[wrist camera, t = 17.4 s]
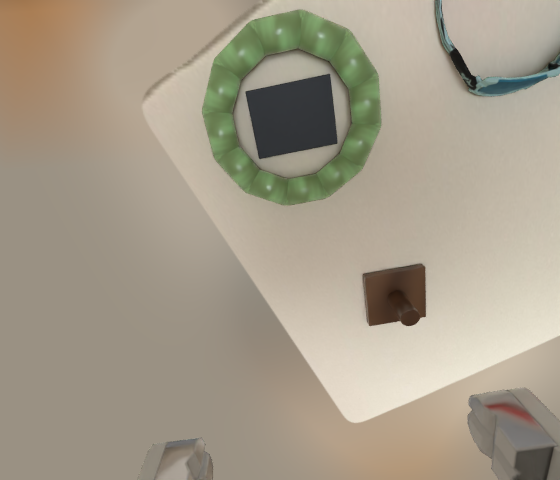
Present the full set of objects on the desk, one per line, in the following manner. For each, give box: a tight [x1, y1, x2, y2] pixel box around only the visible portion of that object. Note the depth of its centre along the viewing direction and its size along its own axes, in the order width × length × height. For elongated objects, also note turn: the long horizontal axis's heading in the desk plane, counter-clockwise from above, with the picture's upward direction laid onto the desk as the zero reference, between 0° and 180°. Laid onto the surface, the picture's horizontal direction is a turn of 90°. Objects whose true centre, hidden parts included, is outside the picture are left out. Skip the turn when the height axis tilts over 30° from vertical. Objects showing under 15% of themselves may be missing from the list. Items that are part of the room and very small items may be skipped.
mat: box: [246, 74, 338, 159], centre depth 32 cm, size 9×7×1 cm
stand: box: [363, 264, 426, 326], centre depth 39 cm, size 8×8×6 cm
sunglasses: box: [435, 0, 560, 96], centre depth 28 cm, size 14×15×5 cm
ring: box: [202, 10, 381, 206], centre depth 31 cm, size 18×18×3 cm
